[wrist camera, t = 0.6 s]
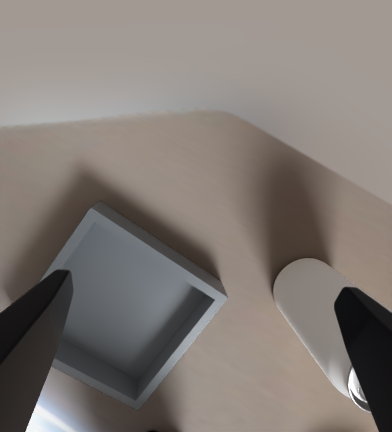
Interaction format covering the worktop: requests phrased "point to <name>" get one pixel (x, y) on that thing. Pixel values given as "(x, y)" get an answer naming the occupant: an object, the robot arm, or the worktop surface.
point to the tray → (129, 306)
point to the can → (319, 319)
